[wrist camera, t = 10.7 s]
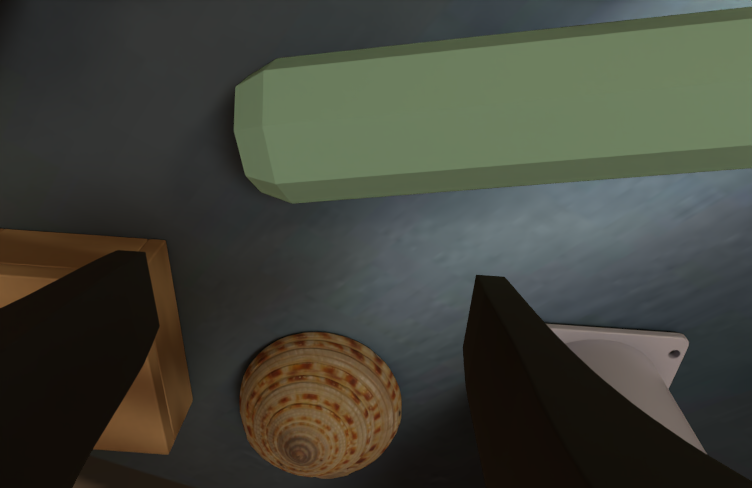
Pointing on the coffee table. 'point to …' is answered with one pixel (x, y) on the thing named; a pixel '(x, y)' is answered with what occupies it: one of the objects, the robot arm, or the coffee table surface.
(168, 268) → the wooden box
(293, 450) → the seashell
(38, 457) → the robot arm
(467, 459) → the coffee table surface
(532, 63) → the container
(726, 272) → the coffee table surface
